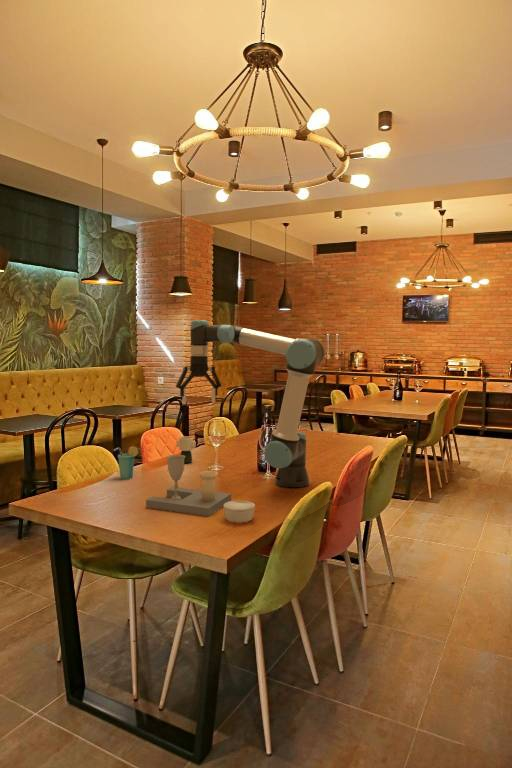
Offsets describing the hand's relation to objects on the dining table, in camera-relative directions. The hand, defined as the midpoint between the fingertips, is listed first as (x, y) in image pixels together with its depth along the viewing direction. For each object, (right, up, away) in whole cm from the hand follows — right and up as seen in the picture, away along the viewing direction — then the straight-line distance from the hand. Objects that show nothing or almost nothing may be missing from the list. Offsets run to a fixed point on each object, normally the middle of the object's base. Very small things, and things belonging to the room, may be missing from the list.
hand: (198, 403), depth 243 cm
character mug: (-10, -32, +38) cm, 50 cm away
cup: (-34, -34, +5) cm, 48 cm away
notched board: (0, -38, -32) cm, 50 cm away
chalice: (-6, -38, -30) cm, 48 cm away
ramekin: (+19, -39, -48) cm, 65 cm away
